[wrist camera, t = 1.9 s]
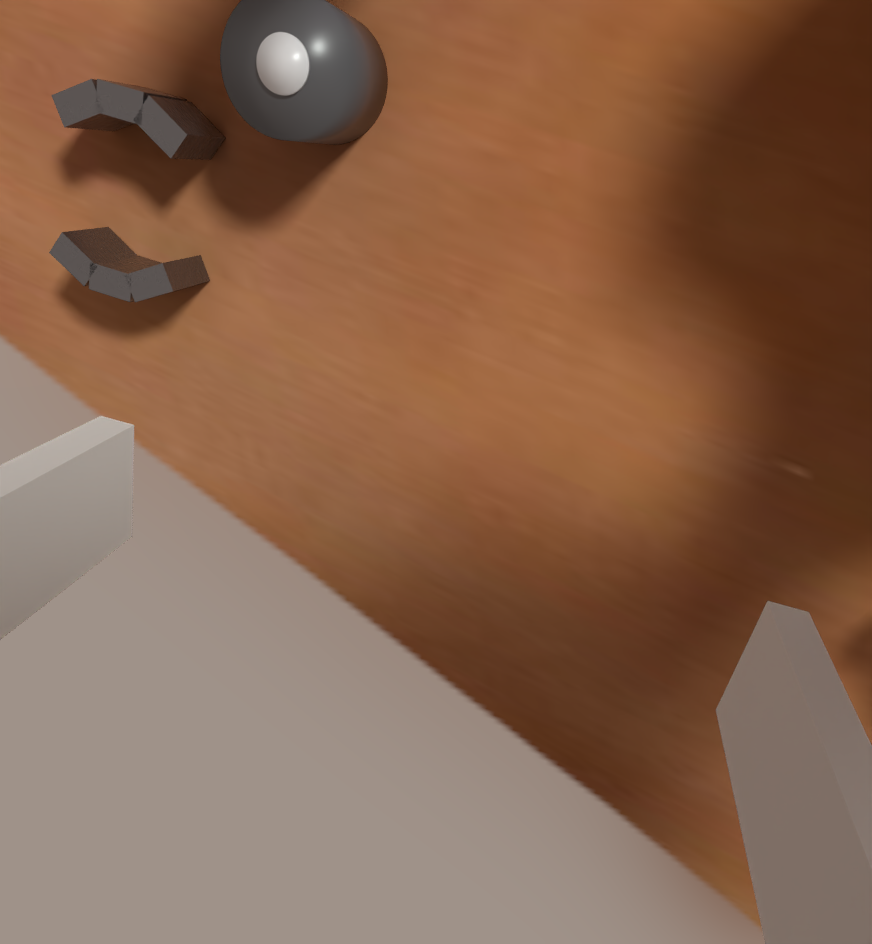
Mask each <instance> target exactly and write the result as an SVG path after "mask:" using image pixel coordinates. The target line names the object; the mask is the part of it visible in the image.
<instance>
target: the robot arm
mask: <svg viewBox="0 0 872 944" xmlns="http://www.w3.org/2000/svg"><path fill="white" fill-rule="evenodd" d="M133 458H134V425H132V424H129V423H125V422H121V421H118V420H114V419H111V418H107V417H103V416H100V417H98V418H96V419H94V420H92V421H90V422H87V423H85V424H83V425H81V426H79V427H77V428H75V429H73V430H71V431H69V432H67V433H65V434H63V435H61V436H59V437H57V438H55V439H53V440H51V441H49V442H47V443H45V444H42V445H40V446H38V447H36V448H34V449H33V450H30V451H28V452H26V453H24V454H22V455H20V456H18V457H16V458H14V459H12V460H10V461H8V462H6V463H4V464H2V465H0V640H1V639H2V638H3V637H4V636H6V635H7V634H8V633H10V632H11V631H12V630H13V629H15V628H16V627H17V626H19V625H20V624H21V623H22V622H24V621H25V620H26V619H27V618H29V617H30V616H31V615H33V614H34V613H35V612H37V611H38V610H39V609H40V608H42V607H43V606H44V605H45V604H47V603H48V602H49V601H50V600H52V599H53V598H54V597H56V596H57V595H58V594H60V593H61V592H62V591H63V590H65V589H66V588H67V587H68V586H70V585H71V584H72V583H74V582H75V581H76V580H78V579H79V578H80V577H81V576H83V575H84V574H85V573H86V572H88V571H89V570H90V569H92V568H93V567H94V566H95V565H97V564H98V563H99V562H100V561H102V560H103V559H104V558H106V557H107V556H108V555H110V554H111V553H112V552H113V551H115V550H116V549H117V548H119V547H120V546H121V545H122V544H124V543H125V542H126V541H128V540H129V539H130V538H131V537H132V516H133V515H132V514H133V510H132V509H133V460H134V459H133ZM716 714H717V718H718V723H719V728H720V732H721V737H722V742H723V747H724V751H725V756H726V761H727V765H728V770H729V775H730V780H731V784H732V789H733V794H734V798H735V803H736V808H737V813H738V817H739V822H740V827H741V831H742V836H743V841H744V846H745V850H746V855H747V860H748V864H749V869H750V874H751V879H752V883H753V888H754V893H755V897H756V902H757V907H758V912H759V916H760V921H761V926H762V930H763V935H764V940H765V944H872V745H871V743H870V741H869V739H868V737H867V735H866V733H865V731H864V728H863V726H862V724H861V722H860V720H859V718H858V716H857V714H856V711H855V709H854V707H853V705H852V703H851V701H850V699H849V697H848V694H847V692H846V690H845V688H844V686H843V684H842V682H841V680H840V677H839V675H838V673H837V671H836V669H835V667H834V665H833V662H832V660H831V658H830V656H829V654H828V652H827V650H826V648H825V645H824V643H823V641H822V639H821V637H820V635H819V633H818V631H817V628H816V626H815V624H814V622H813V620H812V618H811V616H810V614H809V612H807V611H803V610H799V609H796V608H792V607H789V606H785V605H781V604H778V603H774V602H771V601H767V603H766V605H765V607H764V609H763V611H762V613H761V616H760V618H759V620H758V622H757V624H756V626H755V628H754V630H753V632H752V635H751V637H750V639H749V641H748V643H747V645H746V647H745V649H744V651H743V654H742V656H741V658H740V660H739V662H738V664H737V666H736V668H735V670H734V673H733V675H732V677H731V679H730V681H729V683H728V685H727V687H726V689H725V692H724V694H723V696H722V698H721V700H720V702H719V704H718V706H717V708H716Z"/></svg>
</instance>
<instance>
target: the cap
mask: <svg viewBox="0 0 872 944" xmlns="http://www.w3.org/2000/svg"><path fill="white" fill-rule="evenodd" d="M220 62H221V71H222V78H223V81H224V85H225V88H226V91H227V93H228V96H229V98H230V100H231V102H232V104H233V105H234V107H235V108H236V110H237V111H238V113H239V114H240V115H241V116H242V118H243V119H244V120H245V121H246V122H247V123H248V124H249V125H250V126H252V127H253V128H254V129H256V130H257V131H259V132H261V133H262V134H264V135H266V136H269V137H272V138H275V139H280V140H287V141H298V142H309V143H319V144H331V145H337V144H344V143H348V142H351V141H353V140H355V139H357V138H359V137H360V136H362V135H363V134H364V133H366V132H367V131H368V130H369V129H370V128H371V127H372V125H373V124H374V123H375V121H376V120H377V118H378V116H379V115H380V113H381V111H382V108H383V105H384V102H385V98H386V93H387V82H388V77H387V68H386V63H385V59H384V56H383V53H382V50H381V48H380V46H379V44H378V42H377V40H376V39H375V37H374V36H373V35H372V33H371V32H370V31H369V30H368V29H367V28H366V27H365V26H364V25H363V24H362V23H361V22H359V21H358V20H356V19H355V18H353V17H352V16H350V15H348V14H347V13H345V12H343V11H342V10H340V9H338V8H337V7H335V6H334V5H332V4H330V3H329V2H327V1H325V0H241V1H240V2H239V4H238V5H237V6H236V8H235V9H234V10H233V12H232V14H231V16H230V17H229V19H228V22H227V24H226V26H225V29H224V33H223V37H222V42H221V52H220Z"/></svg>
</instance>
